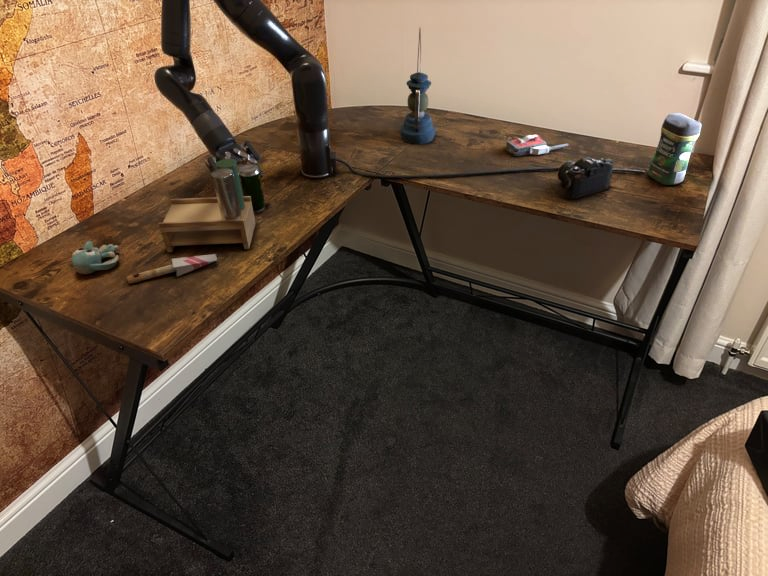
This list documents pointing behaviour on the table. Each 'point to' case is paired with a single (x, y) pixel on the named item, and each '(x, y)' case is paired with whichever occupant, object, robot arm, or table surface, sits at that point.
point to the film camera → (585, 176)
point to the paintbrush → (175, 267)
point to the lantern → (418, 109)
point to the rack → (212, 214)
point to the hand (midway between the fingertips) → (249, 183)
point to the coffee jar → (674, 149)
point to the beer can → (252, 186)
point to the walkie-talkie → (529, 146)
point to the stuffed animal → (94, 258)
